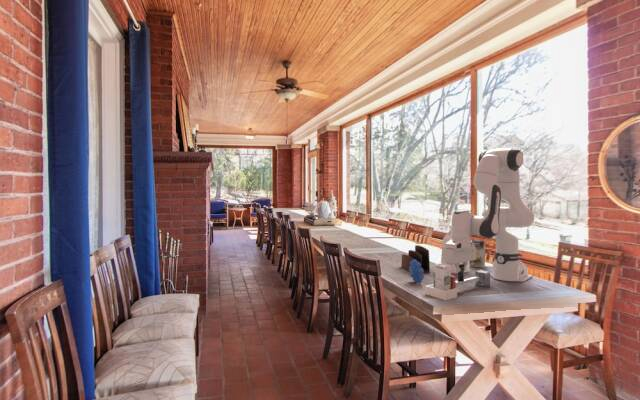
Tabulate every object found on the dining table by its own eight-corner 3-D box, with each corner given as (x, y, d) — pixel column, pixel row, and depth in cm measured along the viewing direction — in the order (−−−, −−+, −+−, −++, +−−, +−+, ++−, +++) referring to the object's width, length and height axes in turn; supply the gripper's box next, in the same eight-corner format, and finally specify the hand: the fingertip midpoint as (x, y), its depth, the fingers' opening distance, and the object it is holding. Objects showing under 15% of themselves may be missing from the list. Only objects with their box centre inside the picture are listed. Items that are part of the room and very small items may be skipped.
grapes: (403, 280, 220) (403, 258, 219) (413, 279, 222) (413, 257, 221) (415, 285, 209) (415, 262, 208) (426, 284, 211) (426, 261, 211)
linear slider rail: (472, 283, 210) (472, 260, 209) (484, 286, 204) (484, 262, 203) (440, 291, 196) (441, 265, 195) (452, 294, 190) (453, 268, 190)
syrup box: (440, 292, 196) (440, 262, 195) (451, 294, 192) (451, 264, 191) (433, 294, 193) (433, 264, 192) (444, 297, 188) (443, 266, 187)
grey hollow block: (480, 283, 213) (480, 270, 212) (490, 285, 208) (490, 272, 208) (475, 284, 210) (475, 271, 210) (484, 287, 206) (485, 273, 205)
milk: (457, 267, 251) (457, 225, 249) (469, 271, 240) (470, 227, 239) (440, 269, 247) (440, 226, 246) (452, 273, 236) (452, 228, 235)
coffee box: (467, 266, 255) (468, 240, 254) (470, 264, 260) (470, 239, 260) (483, 267, 250) (483, 241, 249) (485, 265, 255) (485, 240, 255)
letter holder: (416, 266, 257) (416, 243, 257) (429, 273, 238) (430, 249, 237) (401, 266, 256) (401, 244, 255) (413, 273, 236) (413, 249, 235)
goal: (436, 291, 198) (436, 283, 198) (457, 297, 188) (457, 288, 188) (425, 294, 194) (425, 285, 193) (445, 300, 184) (445, 291, 183)
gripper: (468, 240, 206) (468, 267, 207) (442, 244, 195) (441, 272, 195) (479, 241, 201) (479, 269, 202) (453, 245, 190) (452, 275, 190)
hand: (460, 271), depth 199 cm, fingers closed on linear slider rail, 3 cm apart
